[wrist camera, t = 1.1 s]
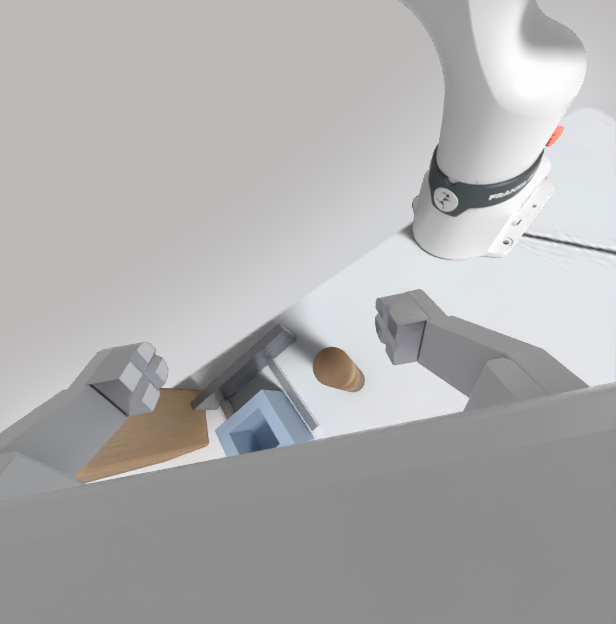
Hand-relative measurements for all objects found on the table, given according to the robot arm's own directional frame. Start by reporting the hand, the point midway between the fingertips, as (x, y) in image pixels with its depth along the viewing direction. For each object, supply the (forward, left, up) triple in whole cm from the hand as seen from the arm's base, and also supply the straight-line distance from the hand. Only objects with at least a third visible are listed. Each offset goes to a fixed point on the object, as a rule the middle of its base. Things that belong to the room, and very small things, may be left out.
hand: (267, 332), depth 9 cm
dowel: (0, -2, -33) cm, 33 cm away
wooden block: (+30, -16, -33) cm, 48 cm away
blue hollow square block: (+15, -3, -33) cm, 36 cm away
